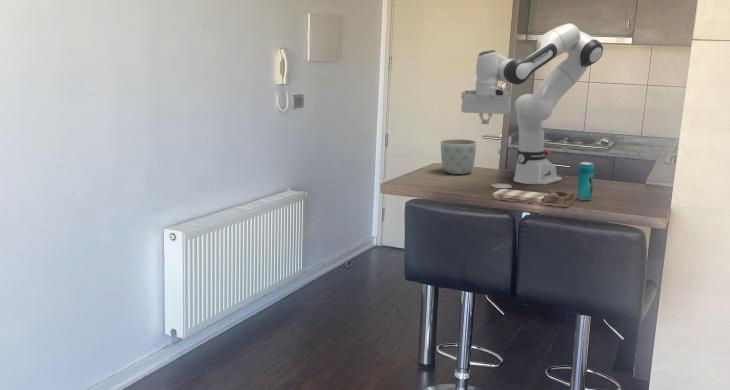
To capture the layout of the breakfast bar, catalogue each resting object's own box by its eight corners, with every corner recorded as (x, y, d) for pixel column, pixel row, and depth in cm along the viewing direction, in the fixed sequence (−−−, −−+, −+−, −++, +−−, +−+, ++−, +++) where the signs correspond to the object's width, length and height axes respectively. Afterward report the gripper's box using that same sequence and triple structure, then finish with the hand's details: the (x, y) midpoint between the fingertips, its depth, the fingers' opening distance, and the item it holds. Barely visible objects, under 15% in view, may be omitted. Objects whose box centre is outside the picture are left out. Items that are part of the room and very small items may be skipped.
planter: (466, 177, 334) (466, 145, 331) (433, 174, 343) (434, 142, 340) (481, 171, 348) (482, 140, 345) (449, 168, 357) (450, 138, 354)
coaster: (499, 183, 321) (499, 182, 321) (515, 187, 314) (515, 185, 314) (486, 186, 315) (486, 185, 315) (503, 190, 308) (503, 188, 308)
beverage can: (589, 201, 287) (591, 164, 284) (575, 200, 290) (577, 163, 287) (593, 198, 292) (595, 162, 288) (579, 197, 295) (581, 161, 291)
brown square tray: (541, 204, 283) (541, 195, 282) (548, 199, 291) (548, 190, 290) (566, 207, 278) (567, 197, 277) (573, 202, 286) (573, 192, 285)
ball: (552, 199, 289) (555, 190, 288) (559, 204, 286) (562, 195, 285) (545, 199, 288) (548, 190, 286) (551, 204, 284) (554, 195, 283)
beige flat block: (492, 199, 292) (493, 193, 292) (501, 194, 301) (501, 188, 300) (541, 204, 283) (541, 198, 282) (548, 199, 291) (548, 193, 290)
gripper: (459, 90, 296) (459, 124, 299) (509, 91, 289) (508, 125, 293) (463, 89, 302) (462, 122, 305) (512, 90, 295) (510, 124, 298)
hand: (485, 124), depth 299 cm, fingers closed
